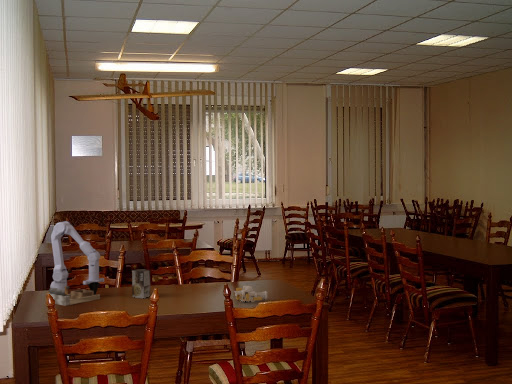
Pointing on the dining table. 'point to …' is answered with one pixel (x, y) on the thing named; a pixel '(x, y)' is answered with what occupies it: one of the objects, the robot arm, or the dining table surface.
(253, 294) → the figure
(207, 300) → the dining table surface
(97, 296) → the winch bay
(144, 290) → the coffee box
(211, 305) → the dining table surface
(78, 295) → the beige square tray
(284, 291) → the dining table surface
